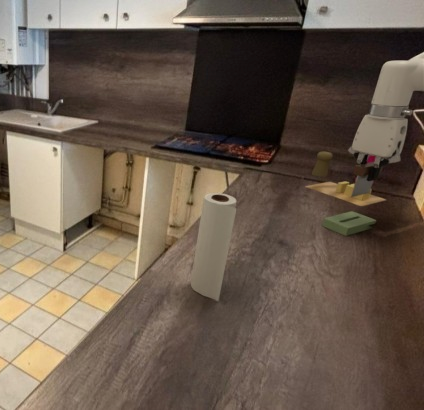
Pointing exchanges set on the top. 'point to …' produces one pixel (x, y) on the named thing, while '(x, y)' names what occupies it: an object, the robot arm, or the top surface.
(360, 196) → the butter block
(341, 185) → the butter pat
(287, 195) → the top surface
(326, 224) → the stand
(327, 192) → the board
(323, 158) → the cork
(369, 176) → the robot arm
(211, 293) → the paper towel roll
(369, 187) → the scraper
